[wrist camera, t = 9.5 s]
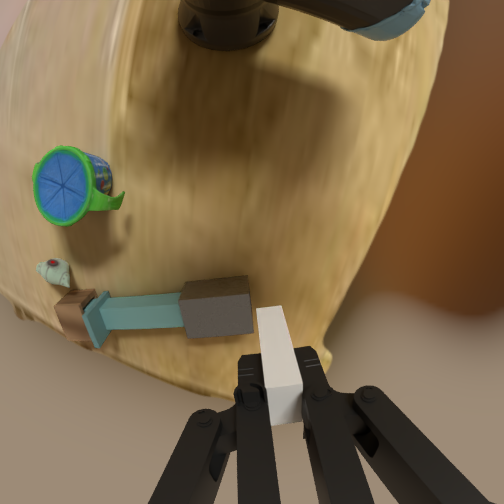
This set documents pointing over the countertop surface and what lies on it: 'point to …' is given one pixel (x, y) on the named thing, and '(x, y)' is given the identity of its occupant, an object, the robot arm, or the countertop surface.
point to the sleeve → (216, 307)
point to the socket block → (74, 313)
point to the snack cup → (72, 185)
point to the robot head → (55, 271)
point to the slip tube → (130, 314)
